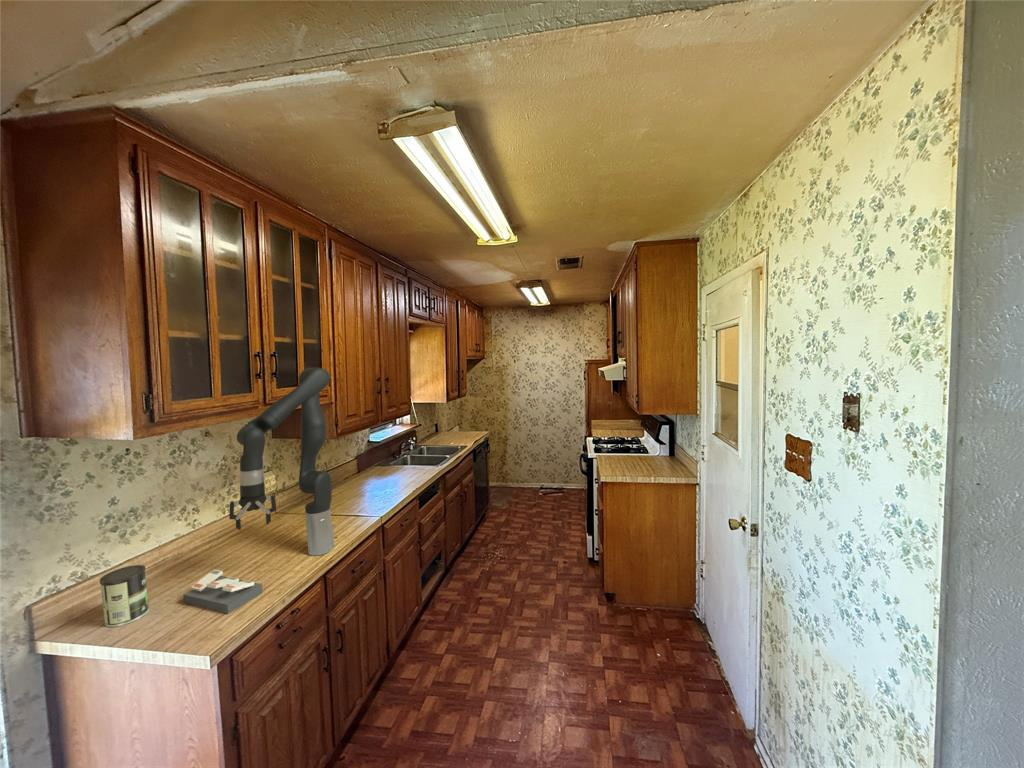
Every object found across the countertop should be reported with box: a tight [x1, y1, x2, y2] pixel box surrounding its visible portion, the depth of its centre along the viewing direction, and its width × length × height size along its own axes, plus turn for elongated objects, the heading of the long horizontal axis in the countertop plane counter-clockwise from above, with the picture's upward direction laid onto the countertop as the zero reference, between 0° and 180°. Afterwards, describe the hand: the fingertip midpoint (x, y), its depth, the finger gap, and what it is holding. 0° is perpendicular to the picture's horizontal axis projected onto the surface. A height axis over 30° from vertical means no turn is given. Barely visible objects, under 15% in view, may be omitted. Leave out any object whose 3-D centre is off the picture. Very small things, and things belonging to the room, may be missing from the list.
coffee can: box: [99, 564, 150, 628], centre depth 127 cm, size 10×10×14 cm
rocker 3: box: [222, 580, 255, 592], centre depth 134 cm, size 8×5×1 cm, turn 161°
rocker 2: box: [207, 577, 240, 589], centre depth 136 cm, size 8×5×1 cm, turn 161°
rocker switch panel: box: [182, 575, 263, 615], centre depth 136 cm, size 12×20×3 cm, turn 71°
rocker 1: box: [190, 569, 224, 591], centre depth 138 cm, size 8×5×1 cm, turn 161°
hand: (253, 526), depth 148 cm, fingers open, 8 cm apart
